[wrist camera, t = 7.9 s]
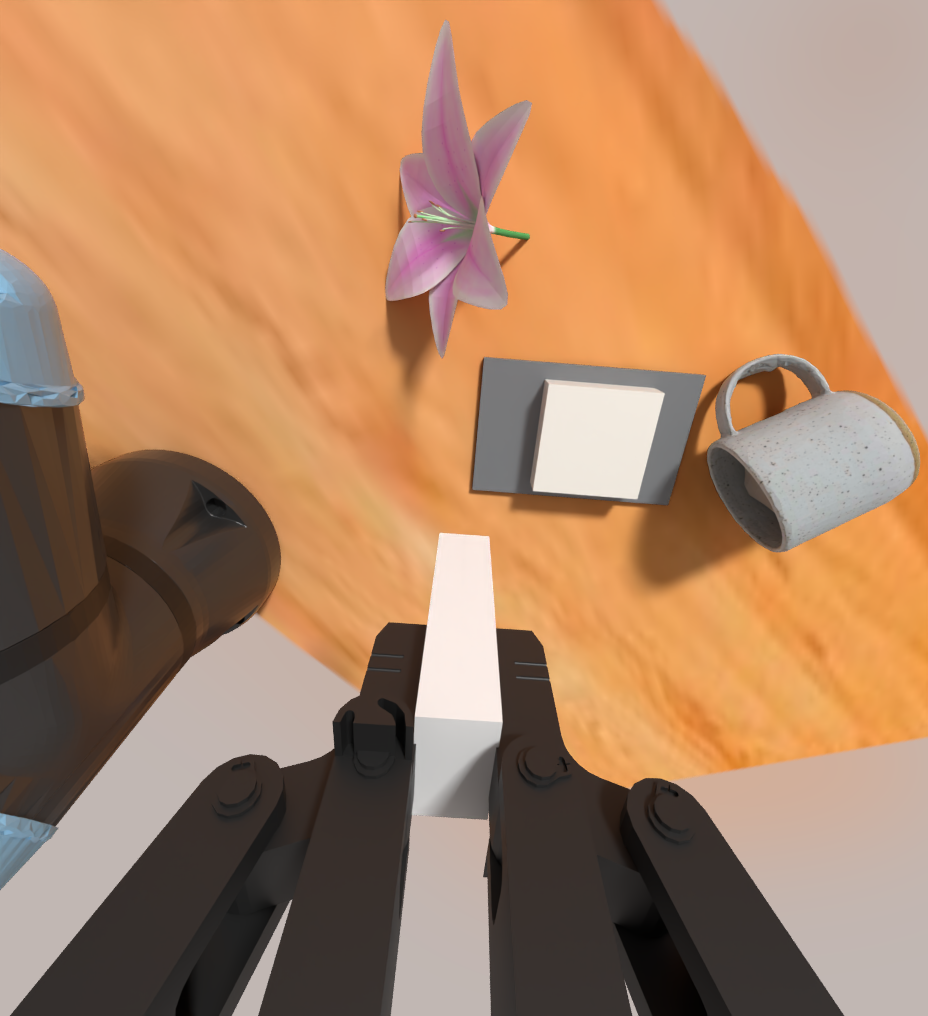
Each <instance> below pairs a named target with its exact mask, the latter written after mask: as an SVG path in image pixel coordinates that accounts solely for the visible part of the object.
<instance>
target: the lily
mask: <svg viewBox="0 0 928 1016" xmlns="http://www.w3.org/2000/svg"><path fill="white" fill-rule="evenodd" d="M531 105H532V103H531V102H529V101H527V100H526V101H523V102H520V103H517V104H515V105H513V106H511V107H509V108H507V109H506V110H504V111H502V112H500V113H499V114H498V115H496V116H495V117H493V118H492V119H491V120H489V121H488V122H487V123H486V124H485V125H483V126H482V127H481V128H480V129H479V130H478V131H477V132H476V134H475V136H474V138H473V139H472V141H471V140H470V136H469V132H468V128H467V124H466V120H465V115H464V111H463V107H462V102H461V97H460V92H459V87H458V80H457V73H456V66H455V58H454V50H453V42H452V35H451V30H450V25H449V22H448V21H447V20H445V22H444V24H443V26H442V28H441V30H440V33H439V37H438V40H437V44H436V47H435V51H434V55H433V60H432V64H431V69H430V73H429V78H428V84H427V90H426V96H425V102H424V108H423V121H422V147H423V153H415V154H410V155H407V156H405V157H403V158H402V160H401V166H400V175H401V182H402V187H403V192H404V196H405V200H406V203H407V207H408V209H409V212H410V214H411V217H410V218H409V219H408V220H407V222H406V223H405V225H404V226H403V228H402V229H401V231H400V233H399V235H398V238H397V240H396V243H395V245H394V248H393V252H392V256H391V259H390V263H389V268H388V273H387V278H386V287H385V289H386V298H387V300H389V301H396V300H401V299H405V298H410V297H414V296H417V295H419V294H422V293H424V292H426V291H428V290H429V289H430V290H429V307H430V316H431V322H432V329H433V333H434V338H435V342H436V346H437V349H438V352H439V355H440V356H441V358H443V357H444V354H445V350H446V346H447V342H448V338H449V333H450V329H451V325H452V321H453V317H454V313H455V309H456V305H457V301H458V300H460V301H463V302H465V303H468V304H471V305H474V306H477V307H482V308H486V309H502V308H503V307H505V306H506V305H507V299H508V293H507V288H506V284H505V280H504V276H503V273H502V270H501V266H500V263H499V260H498V257H497V254H496V250H495V247H494V244H493V241H492V238H491V234H496V235H501V236H506V237H511V238H517V239H525V240H528V239H529V238H530V235H529V234H526V233H519V232H514V231H509V230H504V229H500V228H497V227H494V226H491V225H490V224H489V223H488V221H487V218H486V214H487V211H488V209H489V206H490V203H491V201H492V199H493V196H494V194H495V192H496V190H497V187H498V185H499V183H500V180H501V178H502V176H503V174H504V171H505V169H506V167H507V165H508V162H509V160H510V158H511V156H512V153H513V151H514V149H515V147H516V144H517V142H518V140H519V137H520V135H521V133H522V131H523V128H524V126H525V124H526V121H527V119H528V117H529V114H530V110H531ZM490 233H491V234H490Z"/></svg>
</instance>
